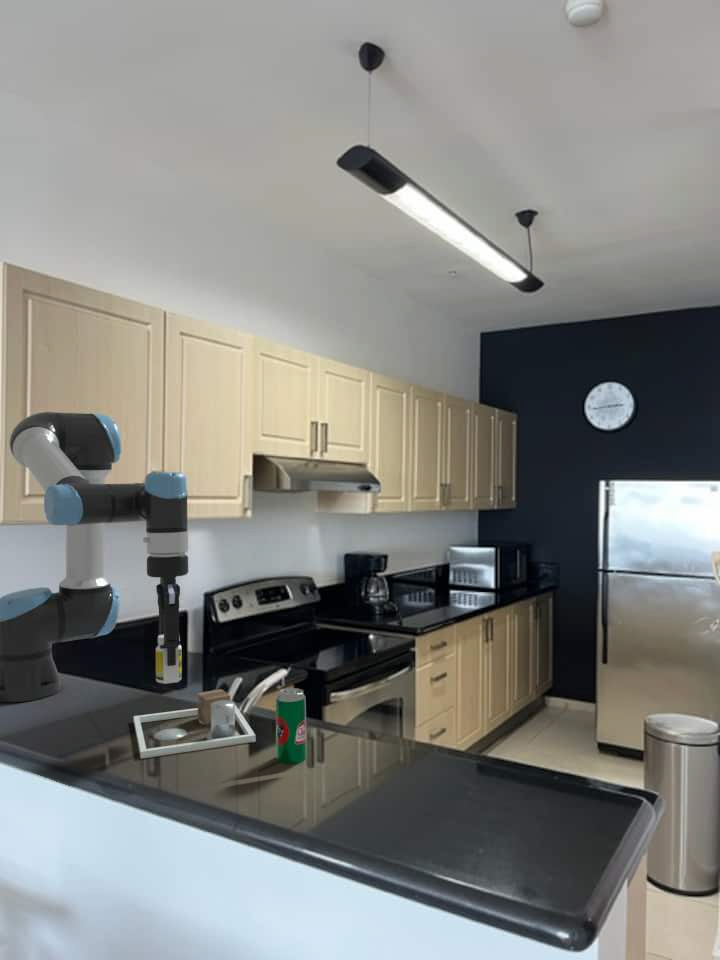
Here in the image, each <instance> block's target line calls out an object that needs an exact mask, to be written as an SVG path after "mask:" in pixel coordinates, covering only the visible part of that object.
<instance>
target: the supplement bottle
mask: <svg viewBox="0 0 720 960" xmlns="http://www.w3.org/2000/svg"><path fill="white" fill-rule="evenodd" d="M172 640H173V639H172ZM179 640H180V641H181V638H180V634H179ZM157 644H158V645H157V646H156V647H155V681H156V683H159V684H164V683H163V649H160V645H163V644H164V634H162V635H159V634H158V636H157ZM182 648H183V647H182V645H181V644H180V645H179V646H178V652H179V682H180V681H181V680H182V677H183V675H182V674H183V673H182V671H183V669H182V668H183V667H182V666H183V665H182V661H183V660H182V657H183V655H182Z"/></svg>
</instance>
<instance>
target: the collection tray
mask: <svg viewBox="0 0 720 960" xmlns="http://www.w3.org/2000/svg"><path fill="white" fill-rule="evenodd" d="M194 716H195V717H197V716H198V707H197V708H196V707H195V708H188V709H181V710H173V711H171V710H170V711H165V712H156V713H147V714H141V715H133V725H134V729H135V735H136V741H137V746H138V751H139V756H140V760H141V759H148V758H153V757H154V758H155V757H161V756H168V755H169V756H170V755H174V754H181V753H188V752H194V751H201V750H208V749H214V748H215V749H216V748H221V747H228V746H229V747H230V746H234V745H241V744H248V743H249V744H250V743H255V742H256V740H257V738H256V735H257V734H255V732H254V730H253V729H252V728H251V726H250V725H249V723H248V722H247V720H246V718H245V717H244V716H243V714H242V713H241V711H240V710H239V708H238V706H237V704H235V721H236V722H237V724H238V726H239V727H240V729H241V730H242V732H243V734H240V733H239V732H238V731H236V730H235V736H233V737H226V738H219V739H212V738H211V733H209V734H208V735H207V736H206V740H200V741H193V742H187V743H178V744H171V745H165V746H158V747H151V748H147V746H146V742H145V737H144V732H143V728H142V723H151V722H157V721H158V722H159V721H163V720H172V719H178V718H179V719H180V718H188V717H194ZM198 722H199V723H200V724H202V725H205V724H204V723H203V722H202V721H201V720H199V719H198ZM187 734H188V732H187V730H185V729H182V728H165V729H162V730H160V731H156V733H154V734H153V738H154V739H155V740H158V741H173V740H178V739H182V738H183V737H185V736H186V735H187Z"/></svg>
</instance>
